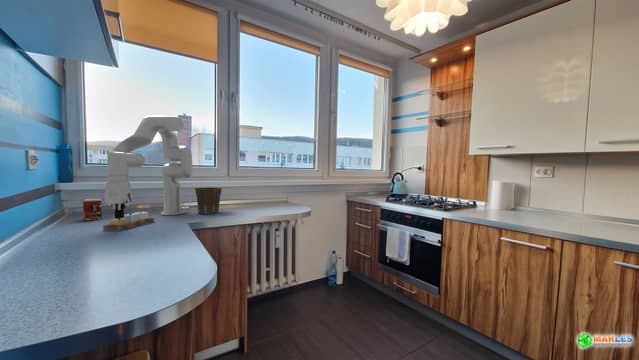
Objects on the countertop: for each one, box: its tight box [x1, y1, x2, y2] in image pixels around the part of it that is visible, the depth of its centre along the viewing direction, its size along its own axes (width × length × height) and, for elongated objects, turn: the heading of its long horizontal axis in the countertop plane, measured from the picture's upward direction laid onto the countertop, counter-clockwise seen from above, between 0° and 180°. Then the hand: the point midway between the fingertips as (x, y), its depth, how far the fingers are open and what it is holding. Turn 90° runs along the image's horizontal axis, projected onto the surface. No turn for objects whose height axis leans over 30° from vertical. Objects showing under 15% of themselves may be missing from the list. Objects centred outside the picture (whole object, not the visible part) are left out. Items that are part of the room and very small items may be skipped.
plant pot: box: [194, 187, 223, 215], centre depth 166 cm, size 16×16×16 cm
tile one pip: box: [132, 211, 149, 220], centre depth 133 cm, size 5×5×4 cm
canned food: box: [82, 198, 103, 220], centre depth 141 cm, size 8×8×11 cm
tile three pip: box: [109, 218, 128, 225], centre depth 120 cm, size 5×5×4 cm
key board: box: [102, 216, 155, 232], centre depth 126 cm, size 20×8×2 cm, turn 174°
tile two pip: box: [121, 213, 139, 222], centre depth 126 cm, size 5×5×4 cm
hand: (119, 217), depth 120 cm, fingers closed
